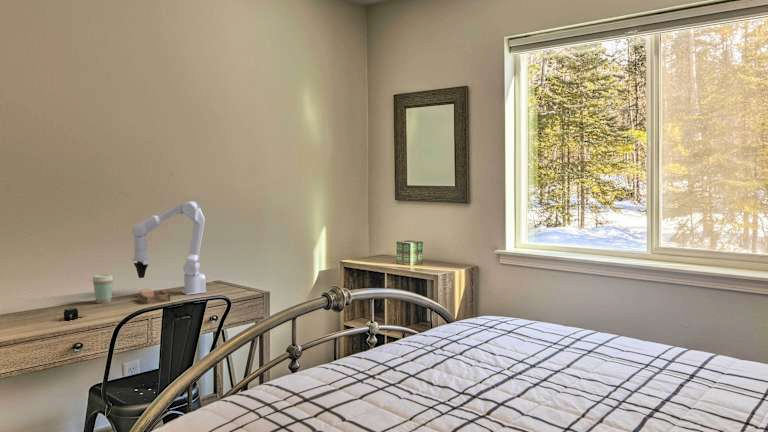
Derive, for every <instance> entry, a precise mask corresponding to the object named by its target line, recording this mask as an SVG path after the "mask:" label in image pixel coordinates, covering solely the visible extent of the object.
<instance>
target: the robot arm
mask: <svg viewBox="0 0 768 432" xmlns="http://www.w3.org/2000/svg"><path fill="white" fill-rule="evenodd" d="M176 215H185V216H186V217H188V218H190V220H191V221H192V222H193V225H192V226H193V227H192V231H191V239H190V244H189V250H188V255H187V258H186V263H185V264H184V265H183V272H184V273H183V274H184V284H183V285H184V290H182V291H181V293H183V294H184V295H187V296H188V295H195V294H196V295H197V294H205V293H206V294H207V285H206V284H207V281H206V279H207V278H206V276H205V274H204V273H201V272H200V271H199V270H200V268H201V262H200V253H201V252H200V251H201V245H202V240H203V233H204V229H205V223H206V218H205V216H204V214H203V212H202V208H201V206H200V205H199V204H198V203H197V202H196V201H194V200H190V201H185V202H184V203H182V204H179V205H176V206H174V207H172V208H170V209H169V210H167V211H166V212H163V213H162V214H161V215H150V216H149V217H148V218H147V219H145V220H144V221H143V220H142V221H140V223H139V224H135V225H134V227H132V230H131V231H132V234H133V236H134V237H133V239H134V240H133V250H134V256H133V258H132V259H131V261H133V262H134V263H133V265H134V267H135V269H136V272H137V277H138V278H139V279H143V278H145V275H146V270H147V268H148V266H149V258H148V239H147V238H148V235H147V234H148V233H151V232H153V231H155V230H156V229H158V228H160V227H161V226H162V224H163V222H164V221H166V220H168V219H171V218H173V217H174V216H176Z"/></svg>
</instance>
